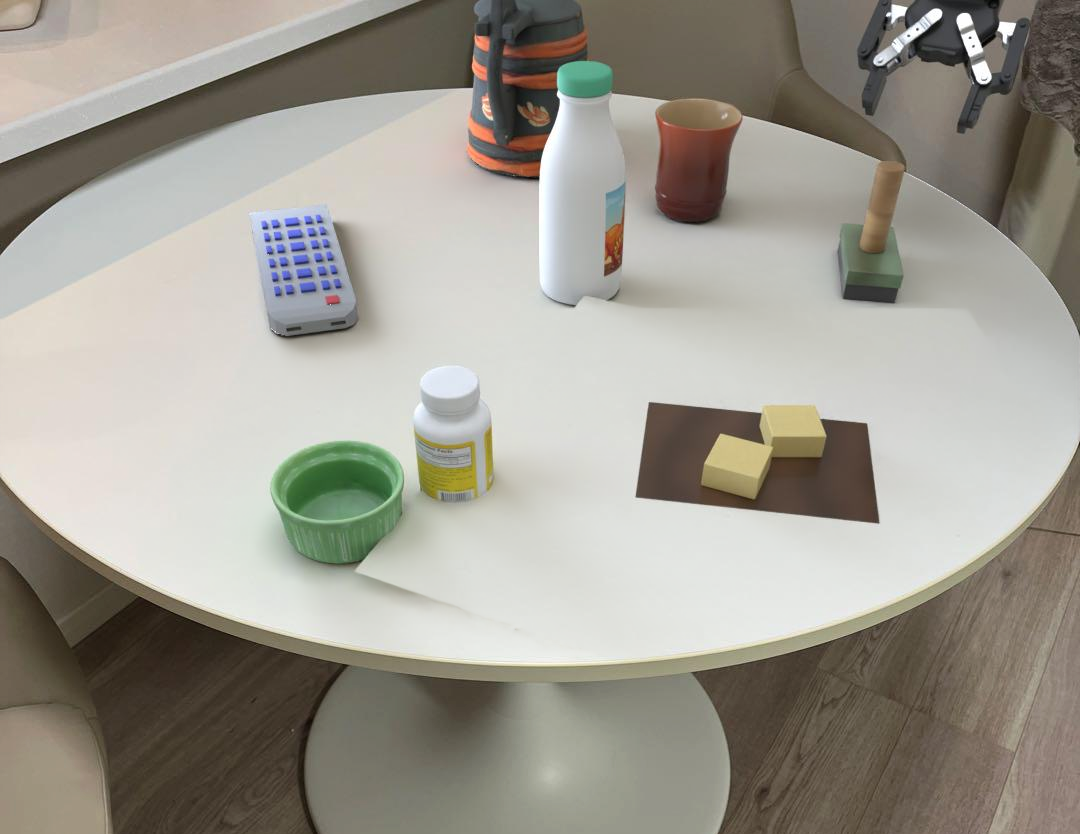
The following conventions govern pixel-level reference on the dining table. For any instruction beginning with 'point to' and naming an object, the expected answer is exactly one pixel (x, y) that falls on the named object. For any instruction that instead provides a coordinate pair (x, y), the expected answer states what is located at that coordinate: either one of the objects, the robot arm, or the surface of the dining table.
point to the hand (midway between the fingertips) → (914, 120)
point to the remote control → (302, 271)
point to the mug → (694, 157)
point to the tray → (790, 483)
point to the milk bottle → (582, 190)
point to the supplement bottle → (453, 436)
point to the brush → (873, 243)
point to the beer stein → (520, 79)
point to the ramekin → (338, 499)
